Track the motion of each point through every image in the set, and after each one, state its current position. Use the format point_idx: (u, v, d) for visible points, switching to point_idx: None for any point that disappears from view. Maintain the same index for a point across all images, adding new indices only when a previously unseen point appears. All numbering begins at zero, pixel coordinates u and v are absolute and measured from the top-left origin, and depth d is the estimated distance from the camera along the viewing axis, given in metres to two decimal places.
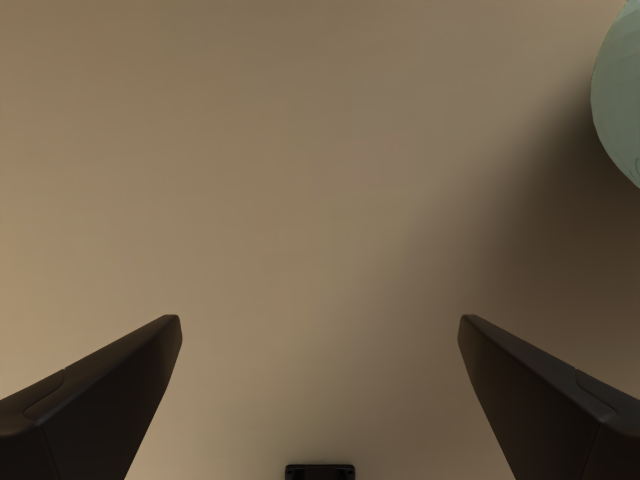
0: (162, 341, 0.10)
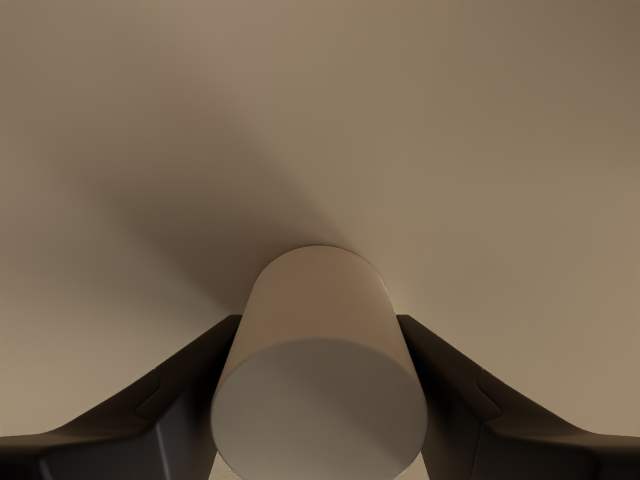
0: None
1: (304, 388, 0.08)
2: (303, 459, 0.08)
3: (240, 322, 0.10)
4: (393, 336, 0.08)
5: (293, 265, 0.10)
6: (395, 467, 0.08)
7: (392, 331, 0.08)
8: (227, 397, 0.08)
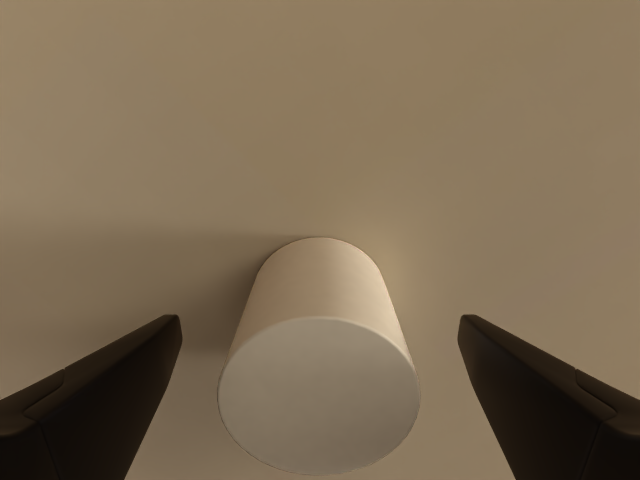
0: (162, 341, 0.10)
1: (304, 365, 0.08)
2: (304, 433, 0.09)
3: None
4: (388, 319, 0.09)
5: (295, 255, 0.11)
6: (390, 441, 0.09)
7: (387, 314, 0.09)
8: (233, 374, 0.08)
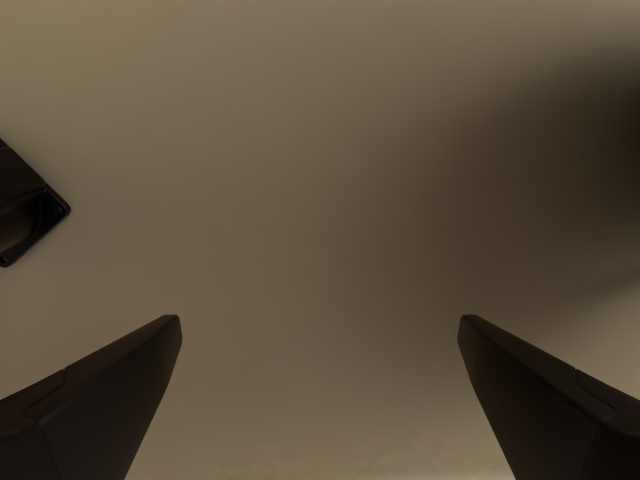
0: (162, 341, 0.10)
1: None
2: None
3: None
4: None
5: None
6: None
7: None
8: None
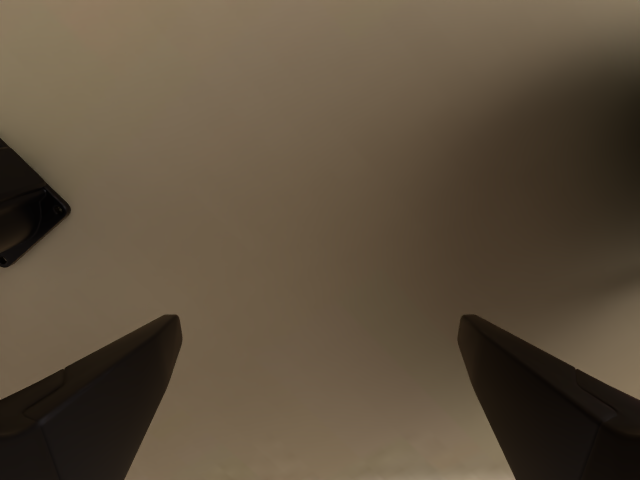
0: (162, 341, 0.10)
1: None
2: None
3: None
4: None
5: None
6: None
7: None
8: None
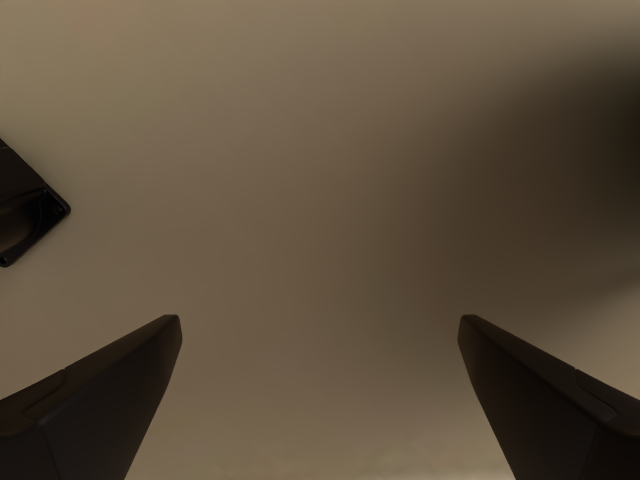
0: (162, 341, 0.10)
1: None
2: None
3: None
4: None
5: None
6: None
7: None
8: None
